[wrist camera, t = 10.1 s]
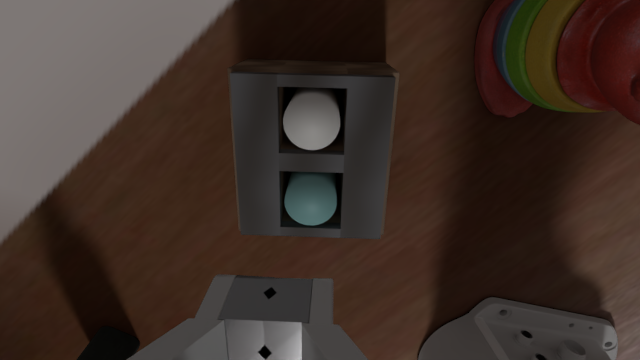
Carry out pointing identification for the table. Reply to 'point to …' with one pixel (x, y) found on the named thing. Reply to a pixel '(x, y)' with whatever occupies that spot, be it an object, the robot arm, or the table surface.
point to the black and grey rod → (110, 345)
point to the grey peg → (312, 117)
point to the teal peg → (311, 197)
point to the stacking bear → (560, 56)
